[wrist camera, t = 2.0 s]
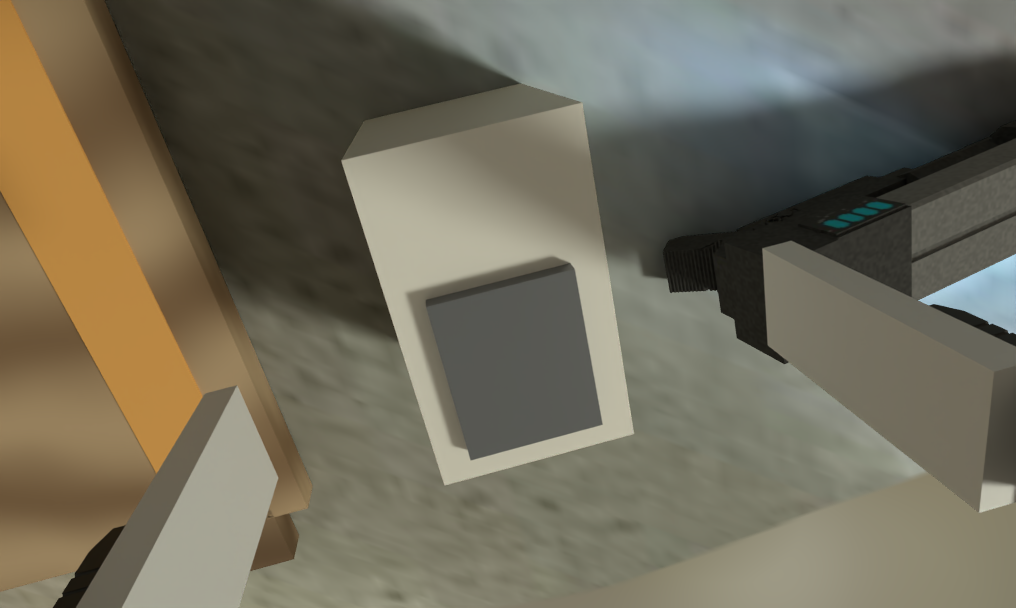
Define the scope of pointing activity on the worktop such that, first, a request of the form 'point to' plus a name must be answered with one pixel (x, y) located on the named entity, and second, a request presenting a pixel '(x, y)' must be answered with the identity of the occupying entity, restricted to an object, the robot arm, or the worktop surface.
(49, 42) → the subfloor panel
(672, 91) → the worktop surface
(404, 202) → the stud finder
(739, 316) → the gun
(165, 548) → the robot arm
